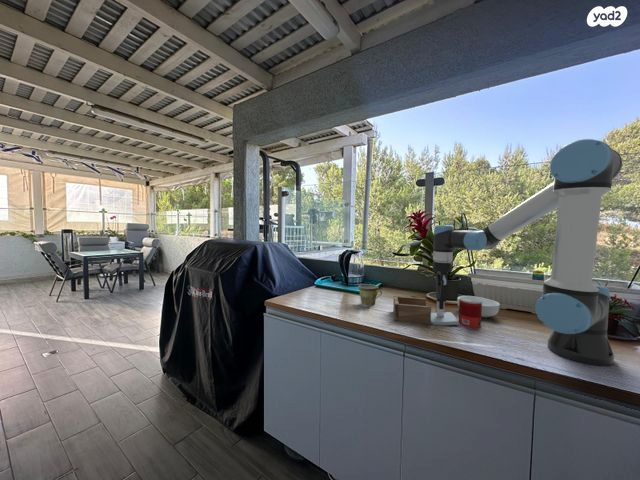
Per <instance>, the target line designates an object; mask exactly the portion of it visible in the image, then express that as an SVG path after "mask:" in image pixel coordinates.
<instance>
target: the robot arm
mask: <svg viewBox="0 0 640 480" xmlns="http://www.w3.org/2000/svg"><path fill="white" fill-rule="evenodd" d="M622 167H623V159H622V155H621V154H620V153H619V152H618V151H617V150H615V149H614V148H612V147H611V146H610V145H609V144H608V143H606V142H605V141H602V140H597V139H591V138H588V139H587V138H585V139H584V138H583V139H578V140H575V141H572V142H569V143H567V144H565V145H564V146H562V147H561V148H560V149H559V150H557V151H556V152H555V154H553V157H552V158H551V160H550V162H549V171H550V174H551V176H552V177H553V178H554V180H553V182H552V183H550V184H549V185H547V186H546V187H544V188H543V189H542V190H540V191H538V192H537V193H535V194H534V195H532V196H531V197H529V198H528V199H526V200H525V201H523V202H522V203H520V204H519V205H517V206H515V207H514V208H512V209H511V210H510V211H508V212H507V213H504V214H503V215H502V216H500V217H499V218H497V219H496V220H495V221H492V223H490V224H489V225H487V226H486V227H484V228H482V229H481V230H461V229H460V230H458V229H457V230H456V229H455V227H454V225H451V224H450V225H449V224H448V225H447V224H438V225H435V226H434V229H433V230H434V231H433V235H432V236H433V250H432V252H433V253H431V256H432V260H433V261H432V270H433V271H434V272H435V271H436V272H437V273H436V274H435V281H436V282H435V291H436V292H435V297H436V313H437V316H443V317H444V312H445V307H446V306H445V304H446V302H447V296H448V285H449V283H450V282H449V276H448V273H451V272H452V271H453V263H452V262H453V256H454V255H453V254H454V253H453V252H454V251H453V250H455V249H456V250H467V251H472V252H474V251H478V252H481V251H482V250H490V249H494V248H496V247H497V246H498V245H499V243H500V242H501V241H503V240H505V239H507V238H509V237H510V236H511V235H513V234H515V233H516V232H518V231H520V230H522V229H523V228H524V227H527V226H528V225H530V224H532V223H534V222H535V221H537V220H538V219H540V218H542V217H544V216H545V215H547V214H549V213H551V212H552V211H554V210H556V209H557V215H556V216H557V217H556V226H555V234H554V235H555V236H554V243H553V244H554V245H553V252H552V253H553V254H552V263H551V264H552V265H551V273H550V277H548V279H545V280H544V281H543V286H542V293H541V296H539V298H538V300H536V303H535V314H536V315H537V318H538V320H540V321H541V322H542V324H543V325H545V326H546V327H547V328H549V329H550V330H552V331H551V334H550V335H549V337H548V340H547V348H548V350H550V351H551V352H553V353H555V354H557V355H559V356H561V357H563V358H566V359H568V360H571V361H576V362H579V363H583V364H588V365H591V366H592V365H593V366H601V367H602V366H604V367H606V366H608V367H609V366H612V365H614V361H615V355H614V353H613V349H612V347H611V344H610V341H609V339H608V325H609V310H610V300H611V294H610V289H609V288H607V287H605V286H600V285H595V284H594V283H593V275H594V267H595V257H596V251H597V241H598V233H599V224H600V217H601V216H600V215H601V207H602V200H603V199H602V198H603V196H605V195H606V194H607V193H609V192H610V191H612V186H613V185H612V184H613V180H614V179H615V178H617V176H618V174H619V173H620V172H621V169H622Z"/></svg>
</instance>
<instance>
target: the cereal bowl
mask: <svg viewBox="0 0 640 480" xmlns="http://www.w3.org/2000/svg"><path fill="white" fill-rule="evenodd" d="M463 297H468V298H475V299H479V300H481V301H482V313H481V318H490V317H493V316H495V315H497V314H498V313H499V311H500V307H501V305H500V303H499V302H498V301H497V300H496V301H495V300H493V299H489V298H486V297H481V296H475V295H474V296H473V295H461V296H458V297H457V301H456V302H457V306H458V307H459V300H460V298H463Z"/></svg>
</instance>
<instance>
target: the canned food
mask: <svg viewBox="0 0 640 480" xmlns="http://www.w3.org/2000/svg"><path fill="white" fill-rule="evenodd" d="M481 313H482V301H481V300H479V299H475V298H468V297H463V298H460V300H459V306H458V321H459V325H461V326H463V327H468V328H474V329H477V328H481V327H482V317H481Z"/></svg>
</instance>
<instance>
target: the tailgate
mask: <svg viewBox="0 0 640 480" xmlns="http://www.w3.org/2000/svg"><path fill="white" fill-rule="evenodd" d="M431 323H433V325H439V326H455V325H456V326H457V325H458V326H459V325H460V324H459V319H457V317H456V316H455V315H454V314H453V313H452V311H449V312H448V311H447V312H445V311H444V317H443V316H437V312H431Z"/></svg>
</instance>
